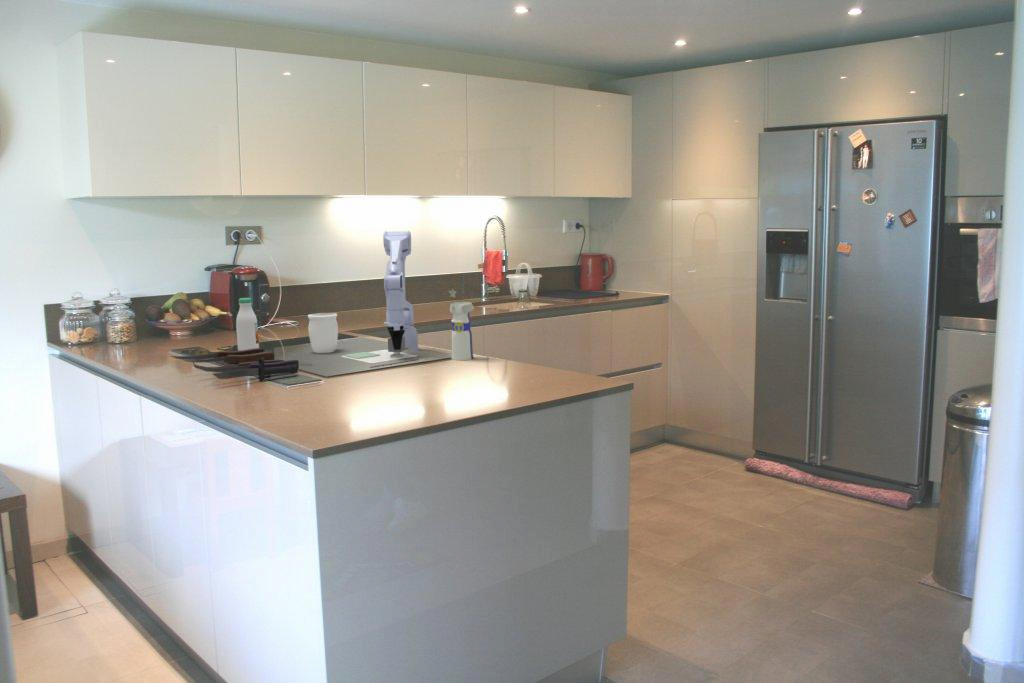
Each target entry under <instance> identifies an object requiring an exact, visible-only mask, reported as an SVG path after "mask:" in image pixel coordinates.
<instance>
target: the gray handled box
mask: <svg viewBox="0 0 1024 683" xmlns="http://www.w3.org/2000/svg"><path fill="white" fill-rule="evenodd" d="M387 350H388V352H402V353H403V352H405V351H406V349H405V337H402V343H401V349H400V350H394V347H393V343H392V338H391V337H389V338H387Z"/></svg>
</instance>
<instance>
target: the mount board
mask: <svg viewBox="0 0 1024 683" xmlns="http://www.w3.org/2000/svg"><path fill="white" fill-rule="evenodd" d="M369 352H370V353H375V354H379V355H380V356H375V357H368V358H361V359H355V358H350V357H346V356H344V355H340V357H341V358H342V357H343V358H345V359H346V358H347V359H349V360H350V359H351V360H355V361H359V362H364V363H368V364H378V363H382V362H383V363H384V362H388V361H389V362H390V361H395V360H401V359H409V358H416V357H418V355H416V354H411V353H406V352H403V351H402V352H388V348H387V349H382V350H381V349H380V350H374V351H369ZM416 361H419V359H418V358H417V359H411V360H410V359H409V360H404V361H399V362H393V363H392V362H391V363H385V364H380V365H375V366H374V365H373V366H370V368H371V369H372V368H378V367H385V366H392V365H397V364H403V363H409V362H416Z"/></svg>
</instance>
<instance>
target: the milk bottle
mask: <svg viewBox="0 0 1024 683" xmlns="http://www.w3.org/2000/svg"><path fill="white" fill-rule="evenodd" d="M252 303H253V301H252V297H241V298H239V299H238V305H239V310H238V313H237V315H236V320H235V321H236V322H235V327H236V340H237V342H236V344H237V351H242V350H248V349H255V348H260V340H259V329H258V328H259V325H258V319H257V316H256V313H255V311H254V310H253V308H252V307H253V306H252Z"/></svg>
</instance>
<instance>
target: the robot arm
mask: <svg viewBox="0 0 1024 683" xmlns="http://www.w3.org/2000/svg"><path fill="white" fill-rule="evenodd" d="M382 239H383V248H384V252H385V254H386V256H389V257H390V259H389V260H388V261H387V263H386V272H385V273H386V274H385V276H384V277H383V288H384V294H385V297H386V301H385V303H386V311H385V312H386V313H385V316H386V317H385V318H386V321H384V322H383V325H385V326H387V331H388V334H389V335H390V338H392V343H393V347H394V350H400V349H401V343H402V337H405V350H406V349H408V350H412V351H420V348H419V337H418V336H419V335H418V330H417V329H416V327H415V326H414V323H415V317H414V316H415V315H414V314H415V313H414V307H413V304H412V303H410V302H409V301H407V300H406V298H407V297H406V265H405V264H406V259H407V256H409V255H411V252H412V232H411V231H410V230H405V231H386V230H385V231H384V232H383V236H382Z"/></svg>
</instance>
